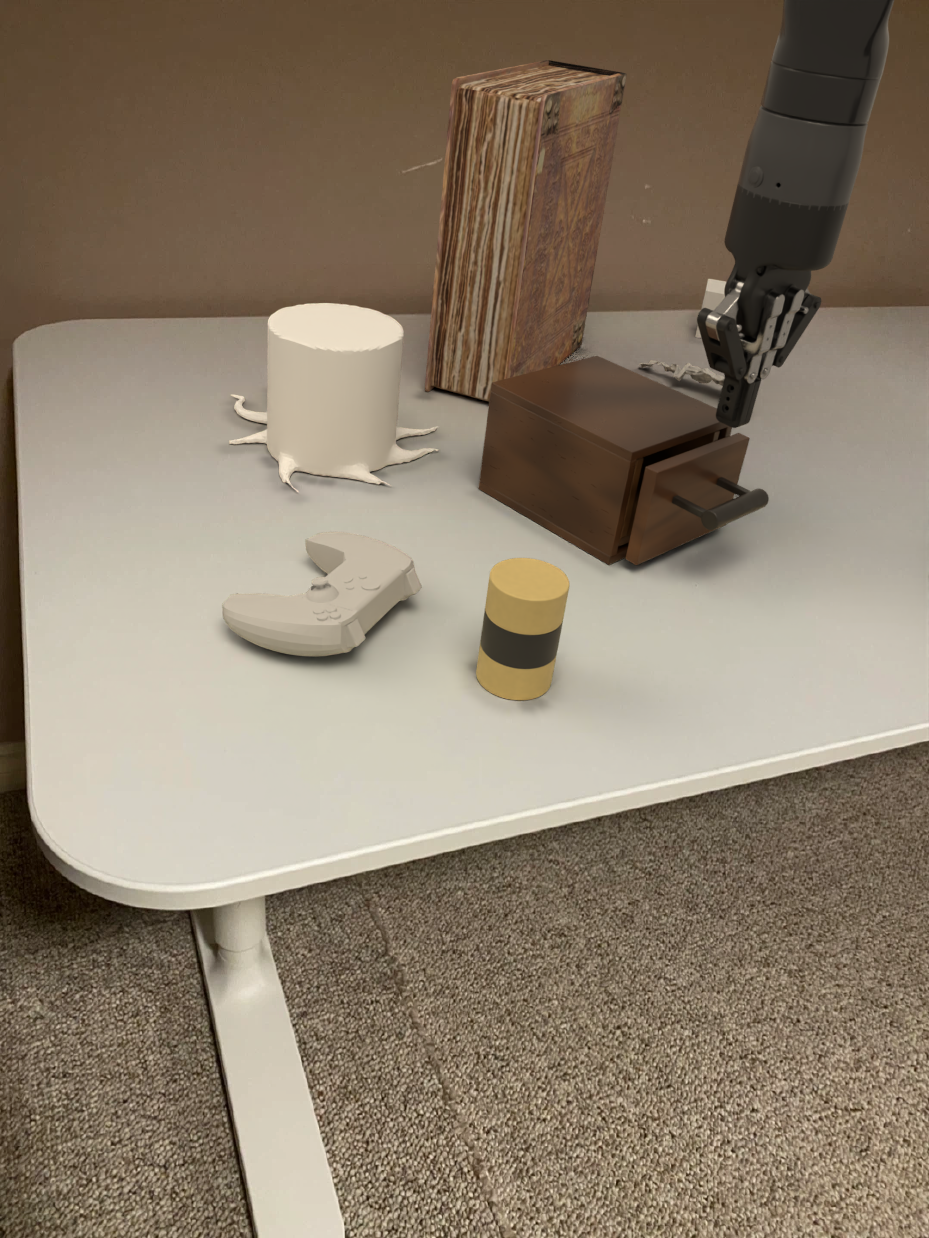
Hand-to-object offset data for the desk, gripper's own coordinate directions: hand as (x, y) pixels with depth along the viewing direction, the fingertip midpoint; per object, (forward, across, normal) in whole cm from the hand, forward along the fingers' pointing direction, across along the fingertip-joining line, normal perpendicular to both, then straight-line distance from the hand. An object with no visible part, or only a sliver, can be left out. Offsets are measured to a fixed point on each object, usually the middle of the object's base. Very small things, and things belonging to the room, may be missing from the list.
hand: (731, 422), depth 83 cm
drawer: (+12, 0, +6) cm, 13 cm away
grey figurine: (+13, +32, +24) cm, 42 cm away
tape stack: (+13, -24, -2) cm, 27 cm away
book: (+13, +17, +40) cm, 45 cm away
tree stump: (+13, -13, +34) cm, 39 cm away
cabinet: (+13, 0, +12) cm, 17 cm away
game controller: (+13, -30, +10) cm, 34 cm away
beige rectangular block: (+13, +51, +34) cm, 63 cm away
